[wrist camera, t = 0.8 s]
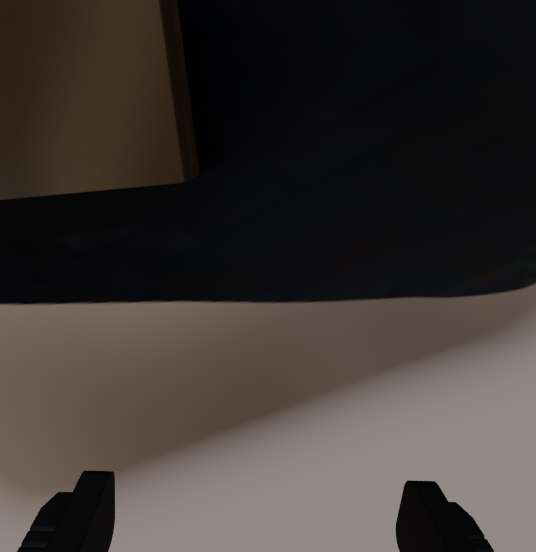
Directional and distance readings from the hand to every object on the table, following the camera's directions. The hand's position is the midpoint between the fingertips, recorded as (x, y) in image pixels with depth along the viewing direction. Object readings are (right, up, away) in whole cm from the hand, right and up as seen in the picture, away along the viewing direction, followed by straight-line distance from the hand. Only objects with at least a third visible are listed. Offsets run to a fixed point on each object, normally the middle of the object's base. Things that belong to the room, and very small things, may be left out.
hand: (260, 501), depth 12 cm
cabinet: (-14, +20, +20) cm, 31 cm away
